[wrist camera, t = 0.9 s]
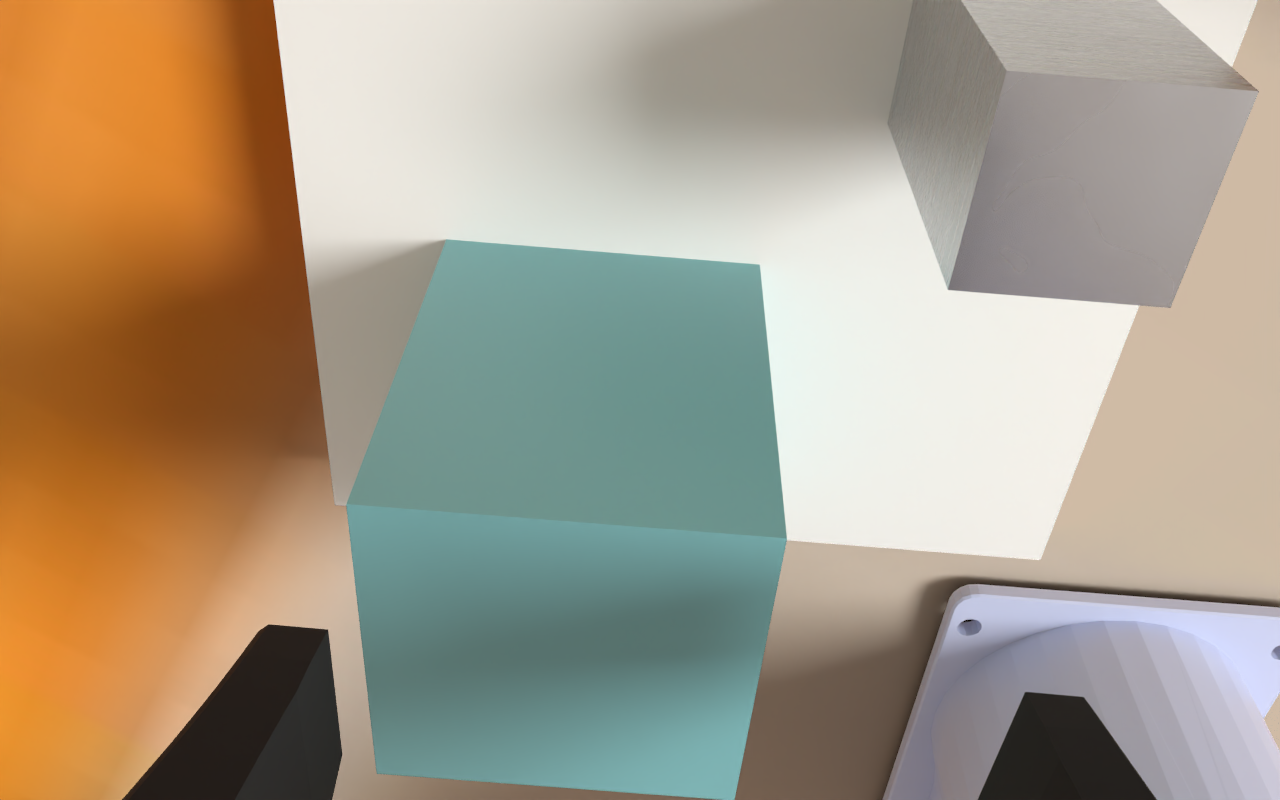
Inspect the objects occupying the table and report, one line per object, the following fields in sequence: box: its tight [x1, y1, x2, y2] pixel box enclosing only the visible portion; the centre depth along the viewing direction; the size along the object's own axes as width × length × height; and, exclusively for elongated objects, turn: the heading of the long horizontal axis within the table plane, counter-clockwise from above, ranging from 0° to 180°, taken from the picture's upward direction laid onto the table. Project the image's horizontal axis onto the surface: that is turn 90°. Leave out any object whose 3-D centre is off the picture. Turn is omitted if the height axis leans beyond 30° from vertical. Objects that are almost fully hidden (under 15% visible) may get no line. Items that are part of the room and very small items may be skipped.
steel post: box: [887, 0, 1259, 308], centre depth 14 cm, size 3×3×5 cm
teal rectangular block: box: [346, 239, 787, 800], centre depth 17 cm, size 5×5×7 cm
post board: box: [273, 0, 1258, 560], centre depth 17 cm, size 20×14×2 cm
